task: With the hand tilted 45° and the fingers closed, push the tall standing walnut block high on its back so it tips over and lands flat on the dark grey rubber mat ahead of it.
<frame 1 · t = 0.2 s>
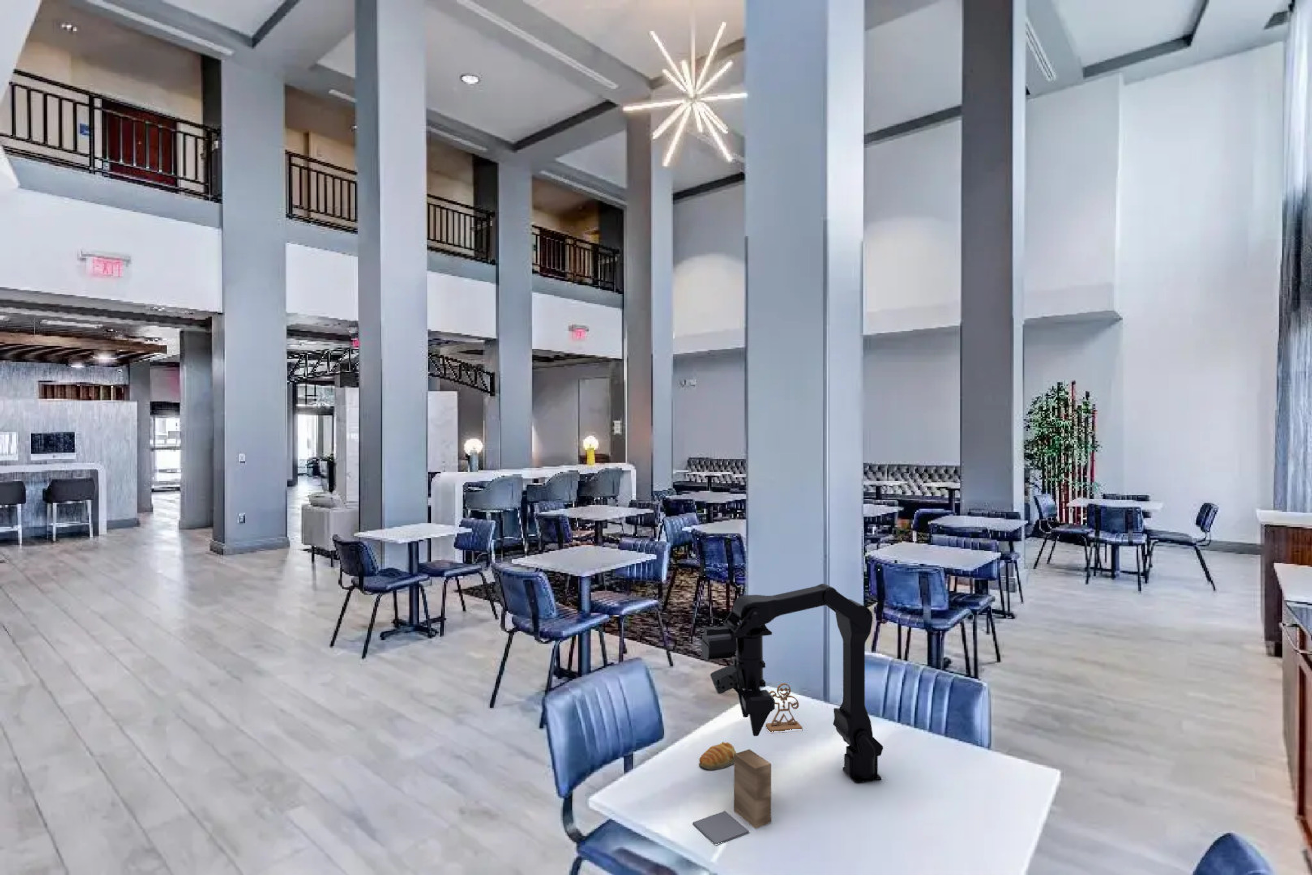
hand: (750, 726, 148), 14 cm above the table, tool pointing down, fingers open, 9 cm apart
gingerbread man figurine: (783, 729, 178), on the table
pastry: (719, 763, 161), on the table
block: (752, 816, 138), on the table
mat: (720, 828, 134), on the table
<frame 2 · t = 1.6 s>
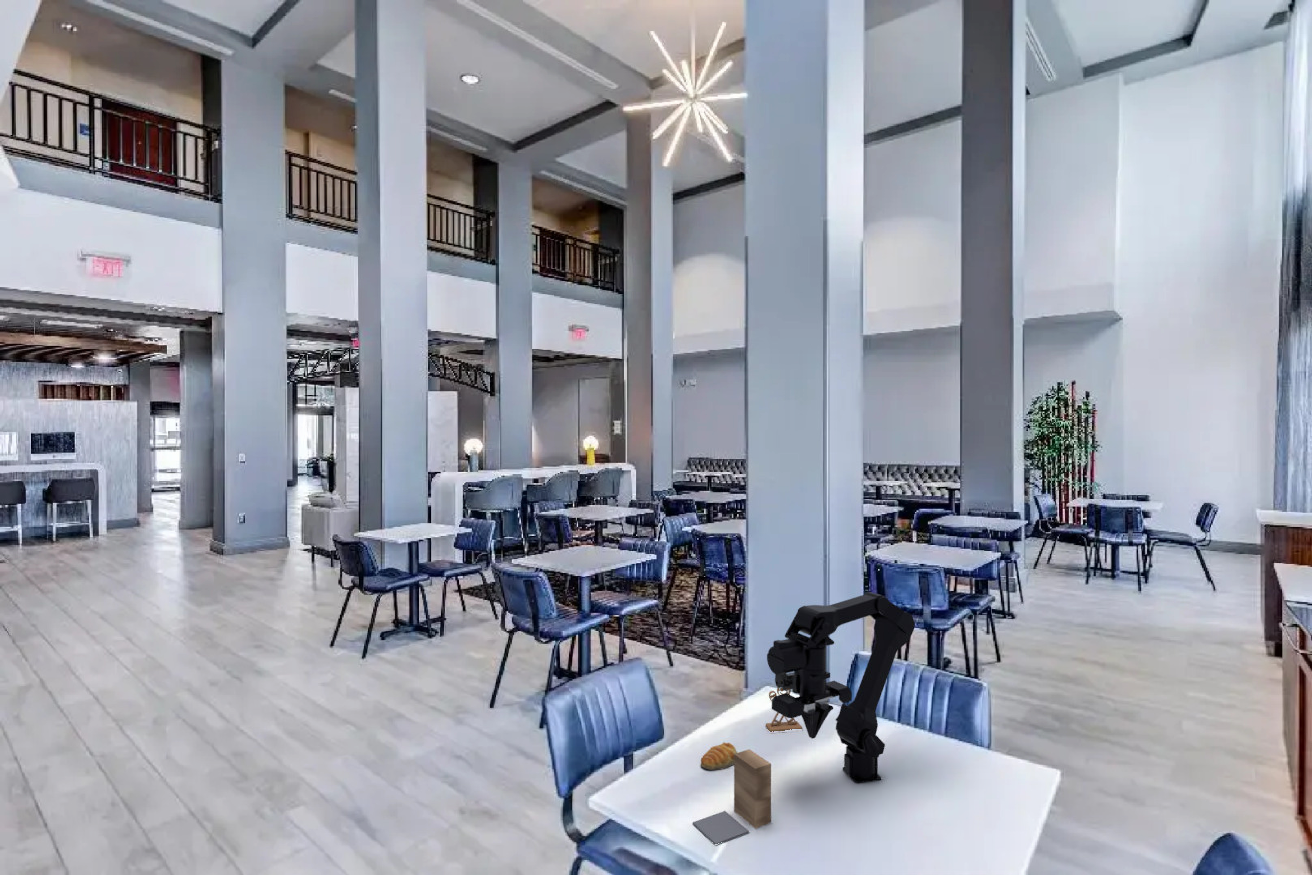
hand: (812, 737, 147), 12 cm above the table, tool pointing down, fingers closed
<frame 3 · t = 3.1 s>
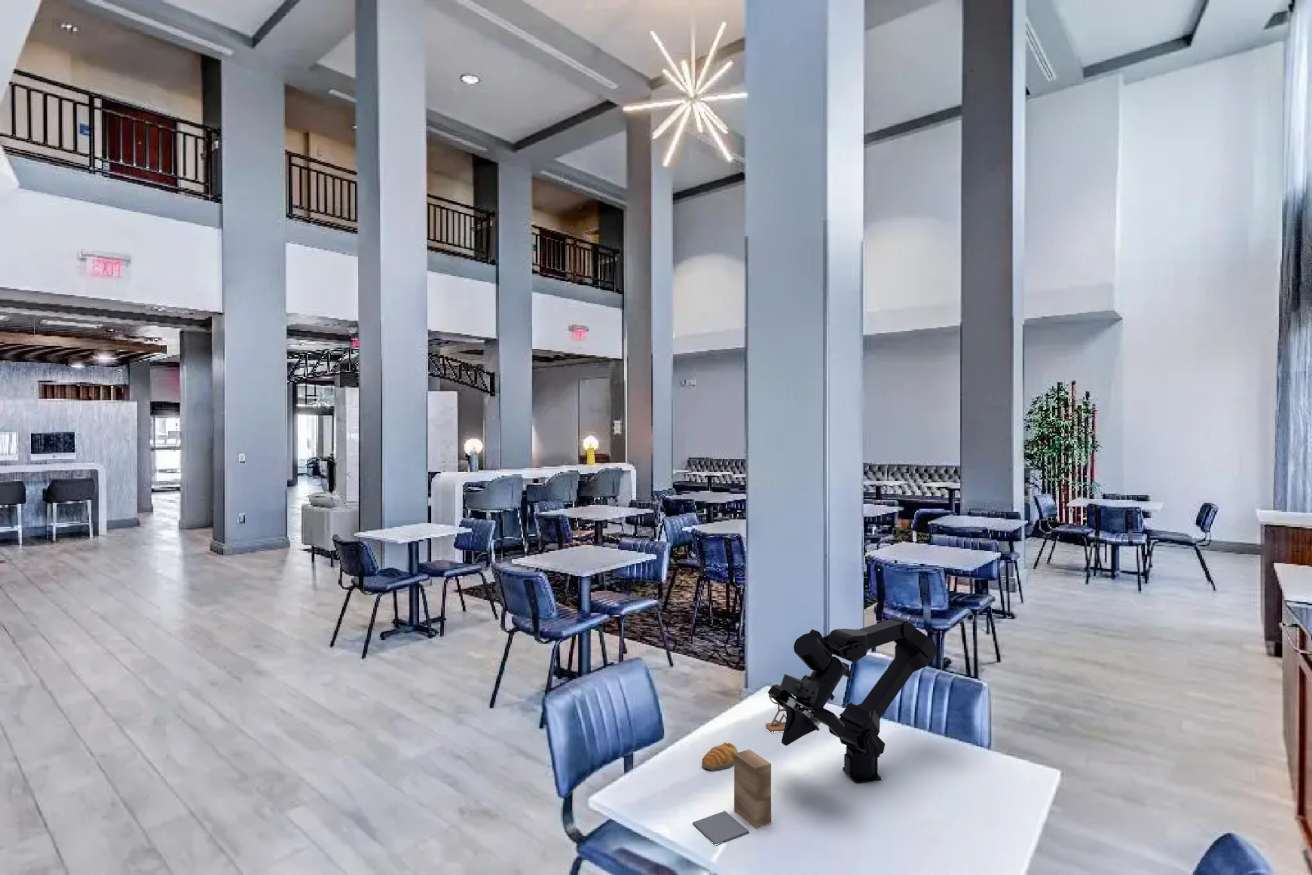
hand: (783, 744, 142), 13 cm above the table, tool tilted 45°, fingers closed
nothing on the table moved.
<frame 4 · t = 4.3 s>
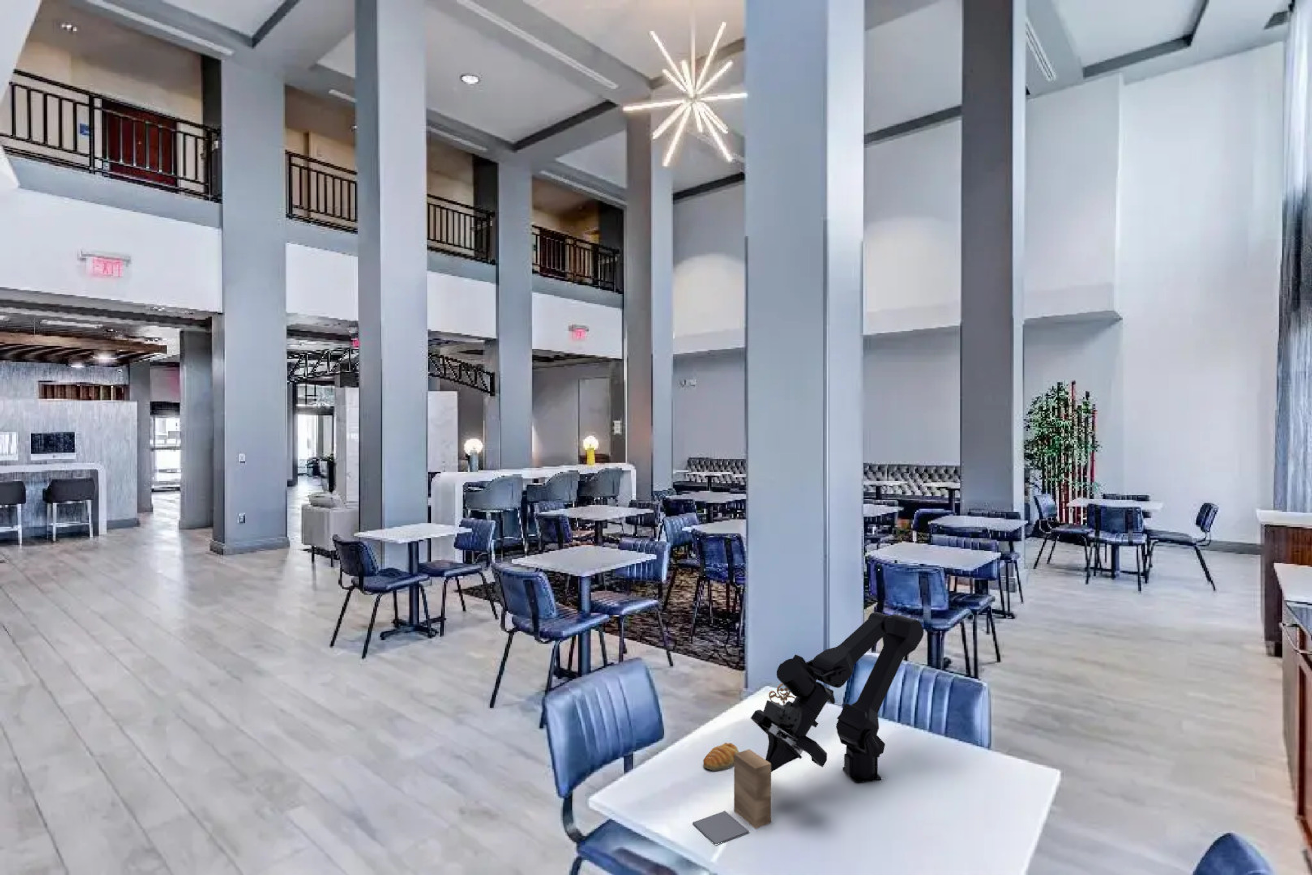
hand: (765, 772, 140), 8 cm above the table, tool tilted 45°, fingers closed
nothing on the table moved.
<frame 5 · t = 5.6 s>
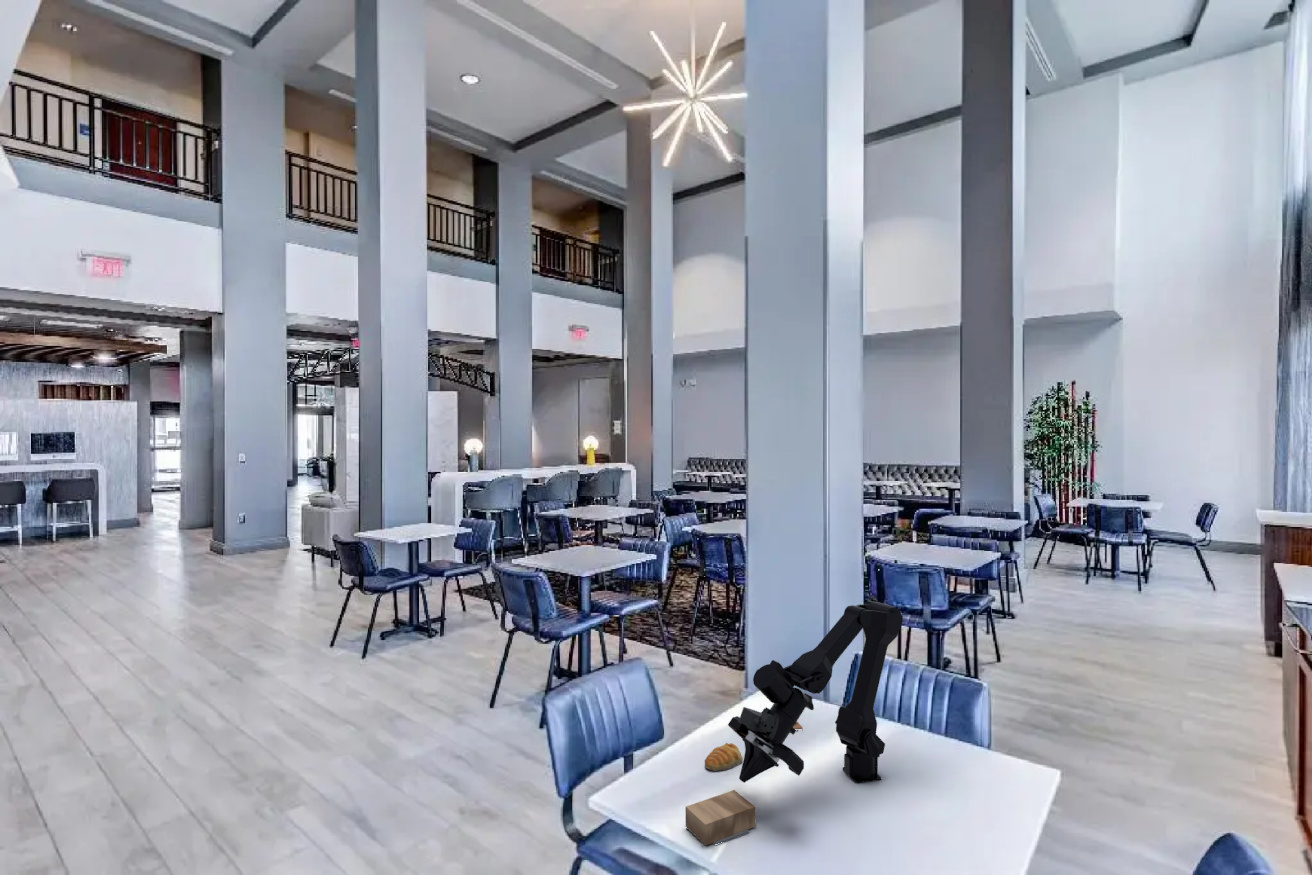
hand: (741, 780, 137), 8 cm above the table, tool tilted 45°, fingers closed
block: (744, 807, 137), point 2 cm above the table, tilted 90°, touching mat
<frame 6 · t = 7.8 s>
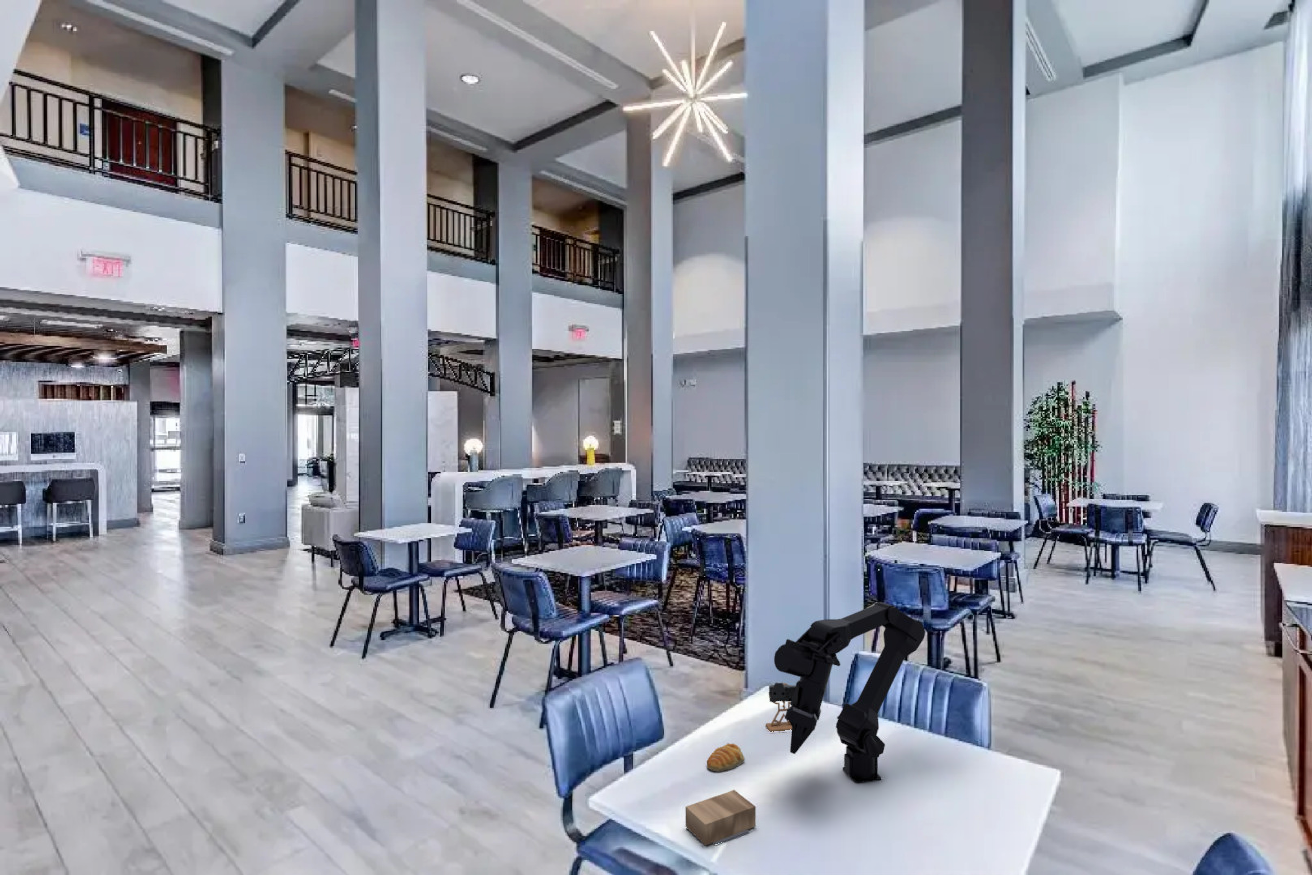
hand: (792, 752, 145), 10 cm above the table, tool tilted 20°, fingers closed
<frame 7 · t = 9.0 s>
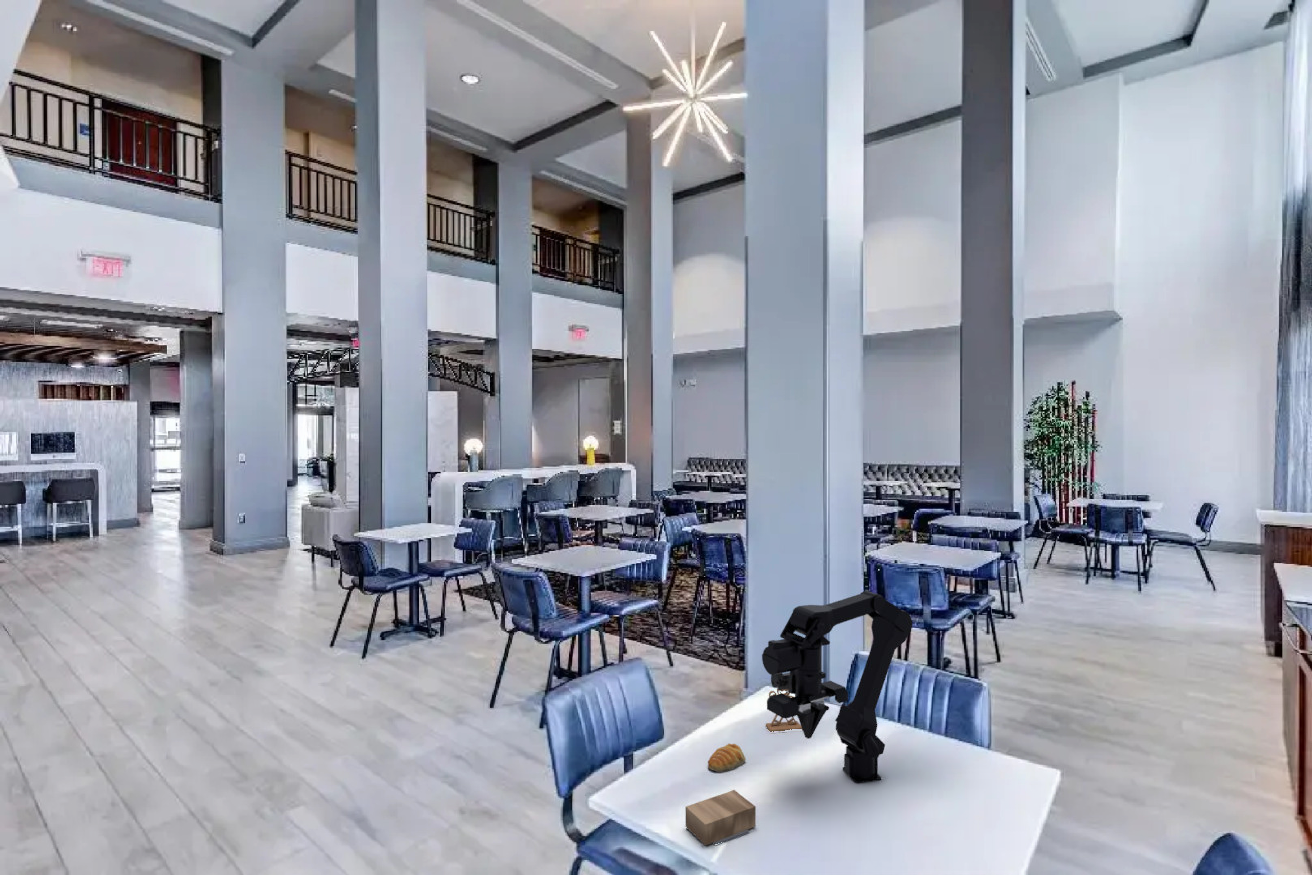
hand: (807, 737, 147), 12 cm above the table, tool pointing down, fingers closed
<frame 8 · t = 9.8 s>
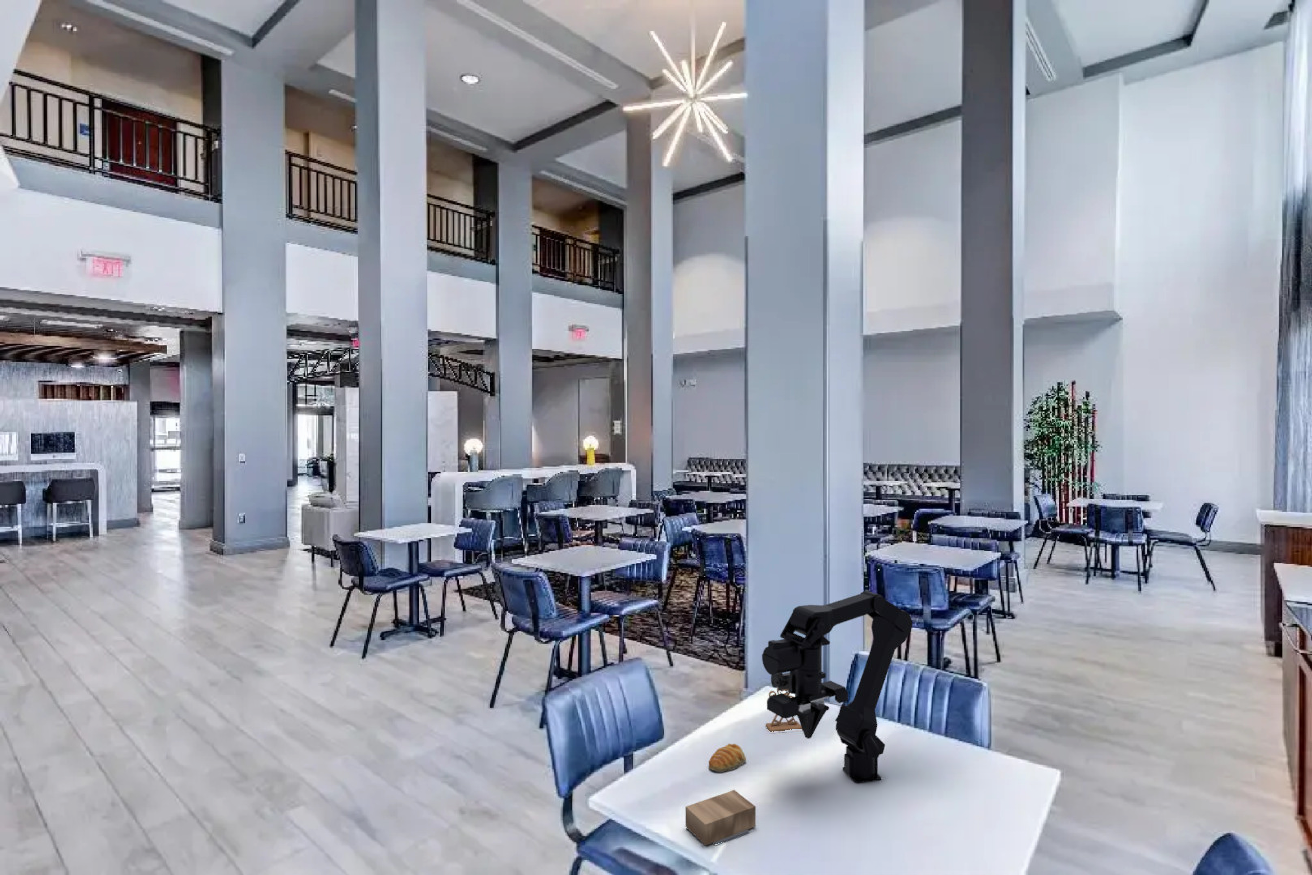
hand: (807, 737, 147), 12 cm above the table, tool pointing down, fingers closed
at the end: block tilted 90°; block inside the target area (6.6 cm from its centre), point 2.4 cm above the table; the gripper is holding nothing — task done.
